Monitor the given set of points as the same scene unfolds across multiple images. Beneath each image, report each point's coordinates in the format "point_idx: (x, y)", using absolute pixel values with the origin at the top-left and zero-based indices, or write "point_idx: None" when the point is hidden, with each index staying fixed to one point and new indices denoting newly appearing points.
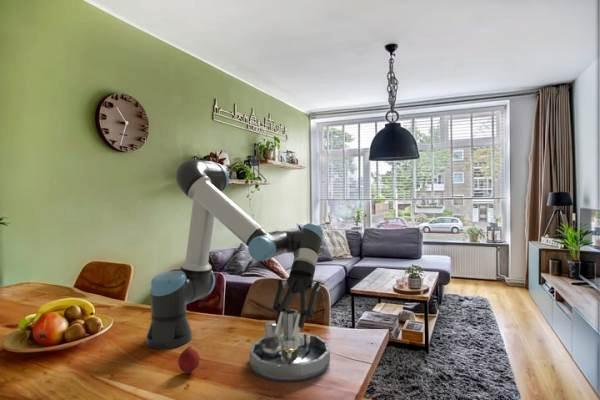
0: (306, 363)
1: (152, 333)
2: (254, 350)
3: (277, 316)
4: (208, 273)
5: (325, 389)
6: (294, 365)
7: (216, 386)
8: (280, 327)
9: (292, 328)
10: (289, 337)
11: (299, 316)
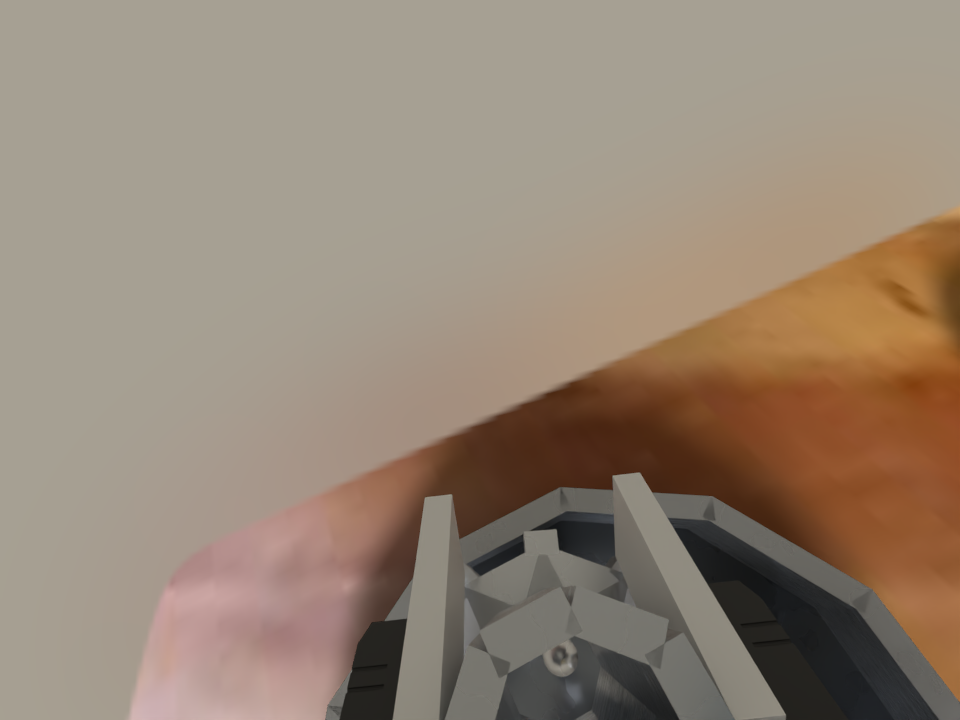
0: (405, 603)
1: None
2: (910, 703)
3: (789, 663)
4: None
5: (304, 547)
6: (467, 540)
7: (791, 351)
8: (642, 572)
9: (500, 614)
10: (531, 594)
11: (396, 708)
